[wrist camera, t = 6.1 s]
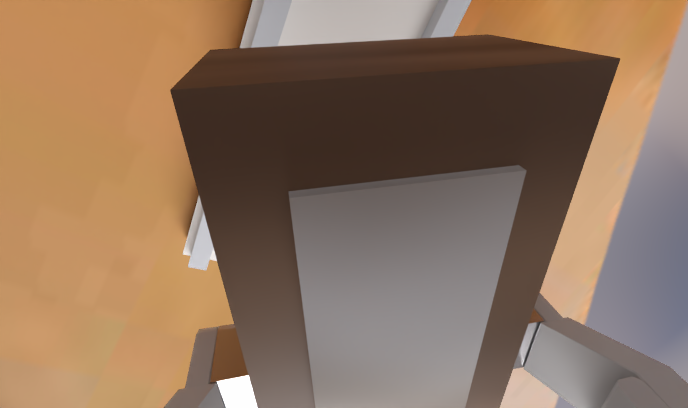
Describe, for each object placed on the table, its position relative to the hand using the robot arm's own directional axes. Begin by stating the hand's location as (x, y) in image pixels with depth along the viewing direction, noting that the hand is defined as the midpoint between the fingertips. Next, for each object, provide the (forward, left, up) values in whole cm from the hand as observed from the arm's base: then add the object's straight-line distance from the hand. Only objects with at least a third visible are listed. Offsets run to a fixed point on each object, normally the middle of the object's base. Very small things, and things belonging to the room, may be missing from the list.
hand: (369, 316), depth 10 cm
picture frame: (0, 0, -1) cm, 1 cm away
